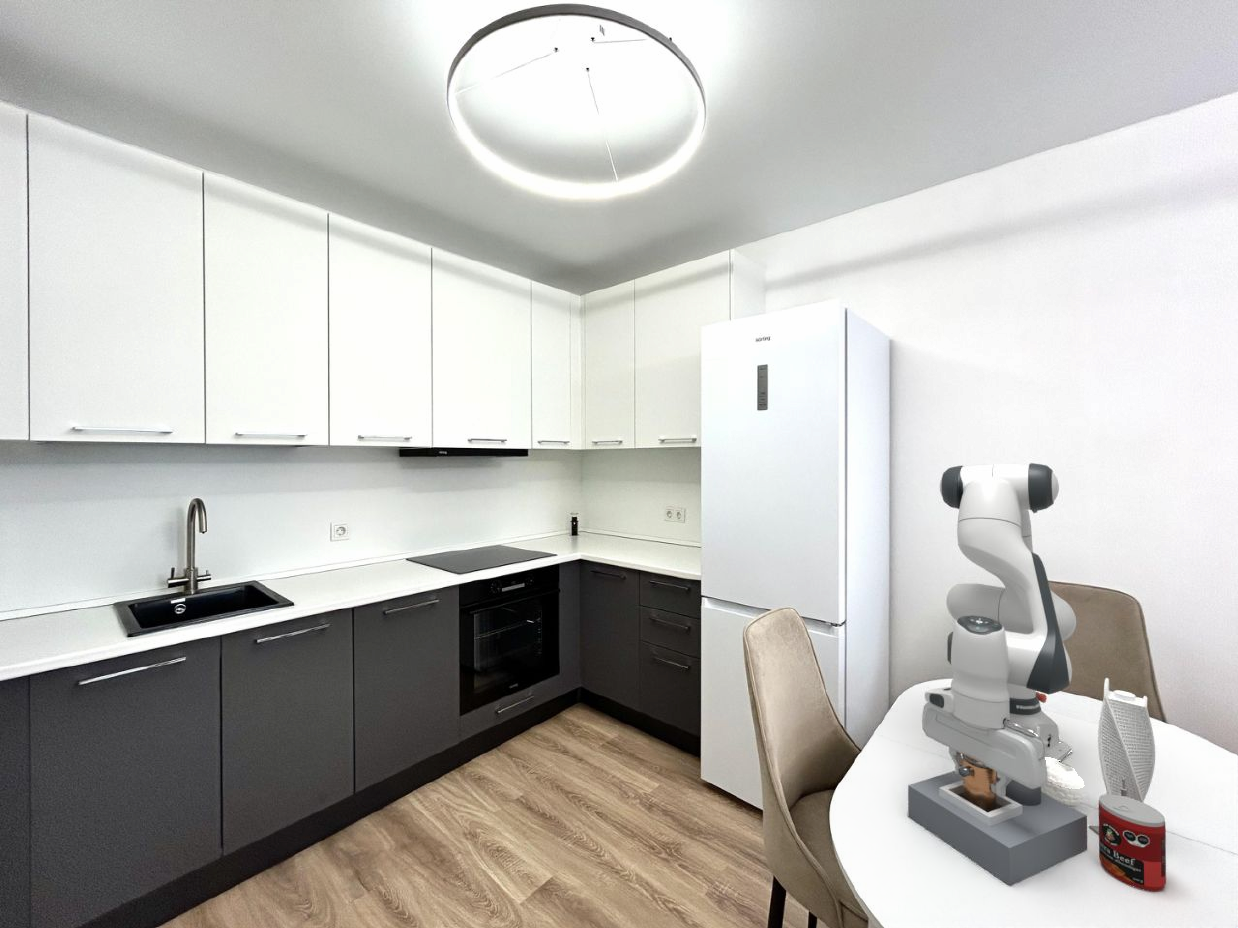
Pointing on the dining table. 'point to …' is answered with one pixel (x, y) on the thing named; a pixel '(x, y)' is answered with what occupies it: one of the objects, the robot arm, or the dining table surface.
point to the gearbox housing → (1000, 826)
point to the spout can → (978, 784)
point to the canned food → (1132, 842)
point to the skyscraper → (1125, 745)
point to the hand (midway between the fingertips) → (979, 784)
